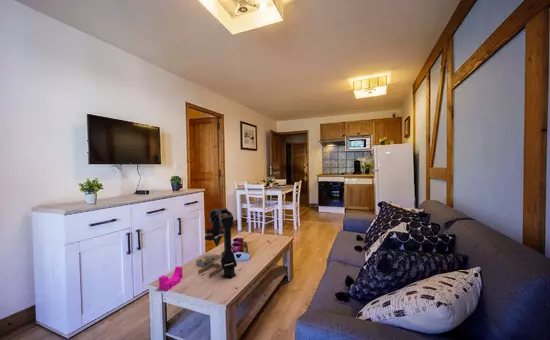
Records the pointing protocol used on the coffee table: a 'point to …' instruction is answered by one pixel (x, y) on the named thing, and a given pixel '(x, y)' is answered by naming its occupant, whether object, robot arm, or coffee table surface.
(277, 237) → the coffee table surface
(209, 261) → the button housing
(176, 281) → the toy block
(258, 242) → the coffee table surface
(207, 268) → the brown wooden u-shaped frame
